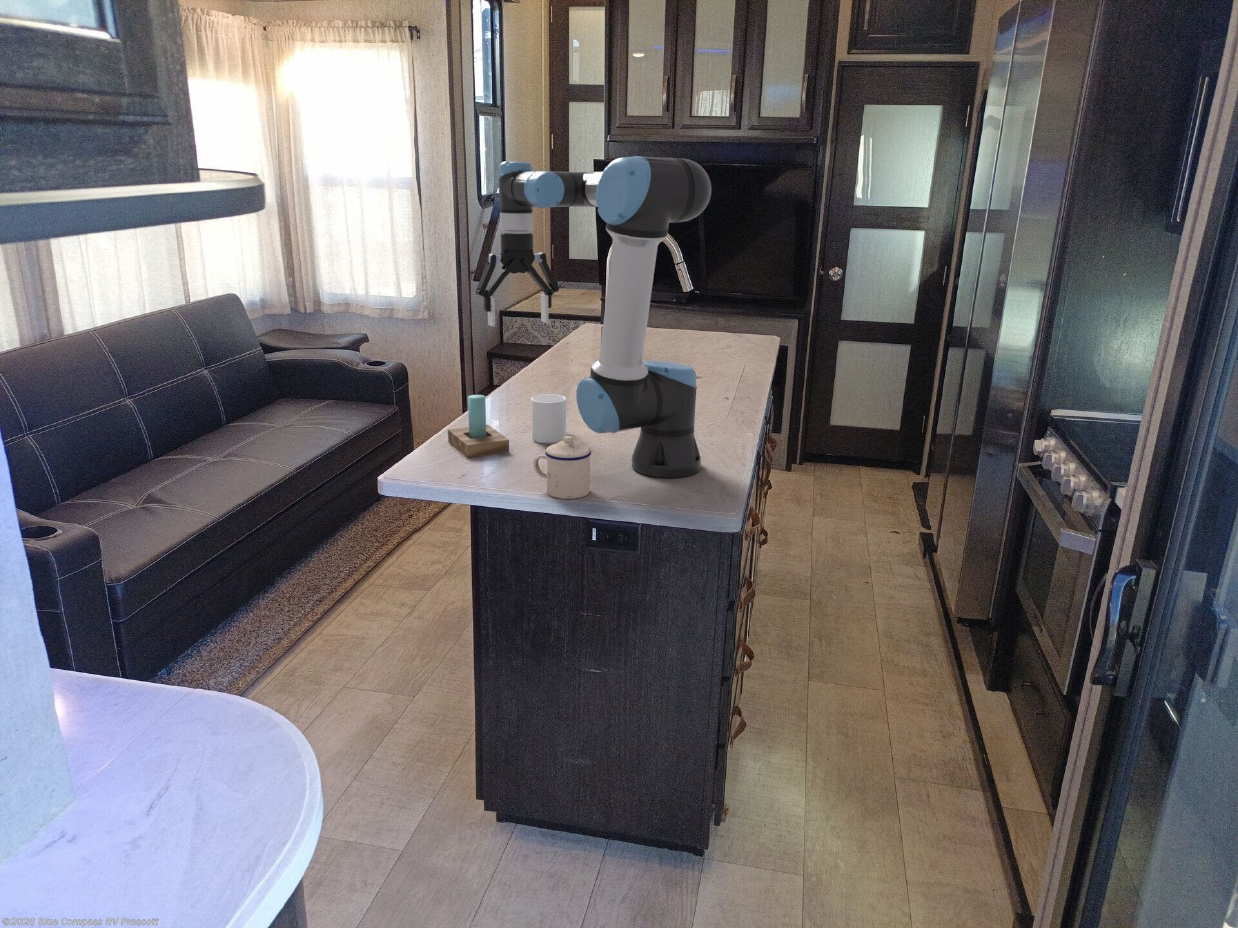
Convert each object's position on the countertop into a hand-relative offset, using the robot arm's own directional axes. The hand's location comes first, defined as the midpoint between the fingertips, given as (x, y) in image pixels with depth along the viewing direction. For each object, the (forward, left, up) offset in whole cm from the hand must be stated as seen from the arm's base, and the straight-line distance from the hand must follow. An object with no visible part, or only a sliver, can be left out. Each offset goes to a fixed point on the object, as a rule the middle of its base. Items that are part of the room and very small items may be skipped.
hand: (518, 324), depth 209 cm
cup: (-8, -5, -27) cm, 29 cm away
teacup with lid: (-44, +9, -27) cm, 52 cm away
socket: (-8, +14, -27) cm, 31 cm away
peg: (-8, +14, -27) cm, 31 cm away
